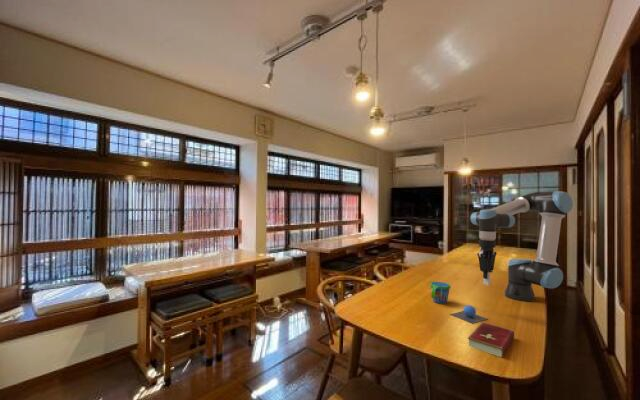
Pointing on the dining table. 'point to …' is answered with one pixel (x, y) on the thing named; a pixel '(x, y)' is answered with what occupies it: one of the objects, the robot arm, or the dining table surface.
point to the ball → (469, 311)
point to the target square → (469, 319)
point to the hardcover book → (491, 339)
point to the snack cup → (440, 292)
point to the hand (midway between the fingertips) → (486, 284)
